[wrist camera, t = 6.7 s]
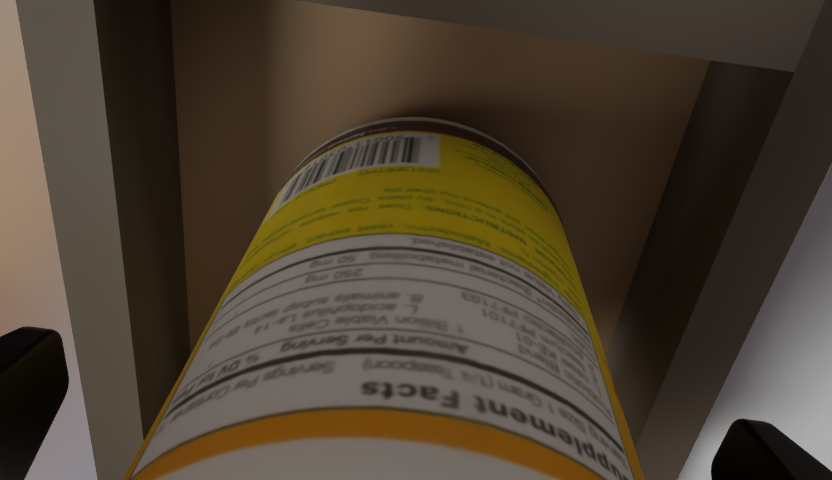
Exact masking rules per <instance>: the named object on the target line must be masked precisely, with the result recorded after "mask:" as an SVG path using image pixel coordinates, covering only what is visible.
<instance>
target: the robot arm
mask: <svg viewBox="0 0 832 480" xmlns="http://www.w3.org/2000/svg"><path fill="white" fill-rule="evenodd" d="M68 382H69V376H68V370H67V365H66V359H65V354H64V348H63V343H62V339H61V336H60V334H59V333H58V332H57V331H55V330H52V329H45V328H37V327H21V328H19V329H17V330H14V331H12V332H10V333H8V334H5V335H3V336H1V337H0V480H24V479H25V477H26V475H27V473H28V471H29V468H30V467H31V465H32V462H33V461H34V459H35V457H36V455H37V452H38V450H39V448H40V446H41V444H42V442H43V440H44V438H45V436H46V434H47V432H48V430H49V428H50V426H51V424H52V422H53V420H54V418H55V416H56V414H57V412H58V410H59V408H60V406H61V404H62V402H63V400H64V398H65V395H66V393H67V390H68V384H69V383H68ZM711 476H712V480H832V471H830V470H829V469H828V468H827V467H825V466H824V465H823V464H822V463H820V462H819V461H818V460H816V459H815V458H814V457H813V456H811V455H810V454H809V453H808V452H806V451H805V450H804V449H802V448H801V447H800V446H799V445H797V444H796V443H795V442H794V441H792V440H791V439H790V438H788V437H787V436H786V435H785V434H783V433H782V432H781V431H780V430H778V429H777V428H776V427H774V426H773V425H772V424H770V423H767V422H763V421H756V420H748V419H738V420H736V421H735V422H733V423H732V425H731V426H730V428H729V430H728V432H727V434H726V436H725V438H724V440H723V441H722V443H721V445H720V447H719V449H718V451H717V453H716V455H715V457H714V459H713V462H712V468H711Z"/></svg>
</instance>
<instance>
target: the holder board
mask: <svg viewBox="0 0 832 480" xmlns="http://www.w3.org/2000/svg"><path fill="white" fill-rule="evenodd" d="M16 4H17V10H18V15H19V22H20V28H21V33H22V39H23V45H24V51H25V57H26V62H27V68H28V74H29V80H30V86H31V92H32V98H33V104H34V109H35V115H36V121H37V127H38V133H39V139H40V145H41V150H42V156H43V162H44V168H45V173H46V179H47V185H48V191H49V197H50V203H51V209H52V215H53V221H54V226H55V232H56V238H57V244H58V250H59V256H60V261H61V267H62V273H63V279H64V284H65V291H66V297H67V302H68V308H69V314H70V320H71V326H72V332H73V337H74V343H75V349H76V355H77V361H78V366H79V373H80V379H81V384H82V390H83V396H84V402H85V407H86V414H87V419H88V425H89V431H90V436H91V443H92V448H93V454H94V460H95V466H96V472H97V478H98V480H123V478H124V477H125V475H126V473H127V471H128V469H129V467H130V466H131V464H132V462H133V460H134V458H135V456H136V454H137V453H138V451H139V449H140V447H141V445H142V443H143V442H144V440H145V438H146V436H147V434H148V432H149V431H150V429H151V427H152V425H153V423H154V421H155V419H156V418H157V416H158V414H159V412H160V410H161V408H162V407H163V405H164V403H165V401H166V399H167V397H168V396H169V394H170V392H171V390H172V388H173V387H174V385H175V383H176V381H177V380H178V378H179V376H180V374H181V372H182V370H183V369H184V367H185V365H186V363H187V361H188V359H189V357H190V355H191V353H192V352H193V350H194V348H195V346H196V344H197V342H198V340H199V338H200V336H201V334H202V333H203V331H204V329H205V327H206V325H207V324H208V322H209V320H210V318H211V316H212V314H213V312H214V311H215V309H216V307H217V305H218V303H219V301H220V299H221V297H222V295H223V294H224V292H225V290H226V288H227V286H228V284H229V283H230V281H231V279H232V277H233V275H234V273H235V272H236V270H237V268H238V266H239V264H240V262H241V261H242V259H243V257H244V255H245V253H246V251H247V250H248V248H249V246H250V244H251V242H252V241H253V239H254V237H255V235H256V233H257V231H258V229H259V228H260V226H261V224H262V222H263V220H264V218H265V217H266V215H267V213H268V211H269V209H270V208H271V206H272V204H273V202H274V200H275V198H276V196H277V195H278V193H279V192H280V190H281V189H282V187H283V185H284V184H285V182H286V181H287V179H288V178H289V176H290V175H291V174H292V173H293V171H294V170H295V169H296V168H297V167H298V165H299V164H300V163H301V162H302V161H303V160H304V159H305V158H306V157H307V156H308V155H309V154H310V153H311V152H313V151H314V150H315V149H317V148H318V147H319V146H320V145H322V144H324V143H325V142H327V141H328V140H330V139H331V138H333V137H335V136H337V135H338V134H340V133H342V132H344V131H347V130H349V129H351V128H354V127H356V126H359V125H362V124H366V123H369V122H373V121H377V120H382V119H389V118H399V117H426V118H435V119H441V120H446V121H451V122H455V123H459V124H462V125H465V126H468V127H470V128H473V129H476V130H478V131H480V132H482V133H485V134H487V135H489V136H490V137H492V138H494V139H496V140H497V141H499V142H501V143H503V144H504V145H505V146H507V147H508V148H509V149H511V150H512V151H513V152H515V153H516V154H517V155H518V156H519V157H520V158H521V159H523V160H524V161H525V162H526V163H527V164H528V165H529V166H530V168H531V169H532V170H533V171H534V172H535V173H536V175H537V176H538V177H539V179H540V180H541V181H542V183H543V184H544V186H545V188H546V189H547V191H548V192H549V194H550V196H551V198H552V200H553V202H554V204H555V206H556V207H557V209H558V212H559V215H560V217H561V220H562V222H563V226H564V231H565V234H566V237H567V240H568V243H569V246H570V249H571V252H572V255H573V258H574V261H575V264H576V267H577V271H578V274H579V277H580V280H581V283H582V286H583V289H584V292H585V295H586V299H587V302H588V305H589V308H590V311H591V314H592V317H593V320H594V323H595V326H596V329H597V332H598V335H599V338H600V341H601V345H602V348H603V351H604V354H605V357H606V360H607V363H608V367H609V370H610V373H611V376H612V379H613V383H614V386H615V388H616V391H617V394H618V397H619V400H620V403H621V406H622V408H623V411H624V416H625V419H626V422H627V425H628V428H629V432H630V435H631V438H632V441H633V444H634V448H635V451H636V454H637V457H638V460H639V463H640V467H641V470H642V473H643V476H644V479H645V480H677V478H678V476H679V474H680V472H681V470H682V468H683V466H684V464H685V462H686V460H687V458H688V456H689V454H690V452H691V450H692V448H693V446H694V443H695V441H696V439H697V437H698V435H699V433H700V431H701V429H702V427H703V425H704V423H705V421H706V419H707V417H708V415H709V413H710V411H711V409H712V407H713V404H714V402H715V400H716V398H717V396H718V394H719V392H720V390H721V388H722V386H723V384H724V382H725V380H726V378H727V376H728V374H729V372H730V370H731V368H732V365H733V363H734V361H735V359H736V357H737V355H738V353H739V351H740V349H741V347H742V345H743V343H744V341H745V339H746V337H747V335H748V333H749V331H750V329H751V326H752V324H753V322H754V320H755V318H756V316H757V314H758V312H759V310H760V308H761V306H762V304H763V302H764V300H765V298H766V296H767V294H768V292H769V290H770V287H771V285H772V283H773V281H774V279H775V277H776V275H777V273H778V271H779V269H780V267H781V265H782V263H783V261H784V259H785V257H786V255H787V253H788V251H789V248H790V246H791V244H792V242H793V240H794V238H795V236H796V234H797V232H798V230H799V228H800V226H801V224H802V222H803V220H804V218H805V216H806V214H807V212H808V209H809V207H810V205H811V203H812V201H813V199H814V197H815V195H816V193H817V191H818V189H819V187H820V185H821V183H822V181H823V179H824V177H825V175H826V173H827V170H828V168H829V166H830V164H831V162H832V0H16Z"/></svg>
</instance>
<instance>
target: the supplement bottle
mask: <svg viewBox="0 0 832 480" xmlns="http://www.w3.org/2000/svg"><path fill="white" fill-rule="evenodd" d="M123 480H645V479H644V476H643V473H642V470H641V467H640V463H639V460H638V457H637V454H636V451H635V448H634V444H633V441H632V438H631V435H630V432H629V428H628V425H627V422H626V419H625V416H624V411H623V408H622V406H621V403H620V400H619V397H618V394H617V391H616V388H615V386H614V383H613V379H612V376H611V373H610V370H609V367H608V363H607V360H606V357H605V354H604V351H603V348H602V345H601V341H600V338H599V335H598V332H597V329H596V326H595V323H594V320H593V317H592V314H591V311H590V308H589V305H588V302H587V299H586V295H585V292H584V289H583V286H582V283H581V280H580V277H579V274H578V271H577V267H576V264H575V261H574V258H573V255H572V252H571V249H570V246H569V243H568V240H567V237H566V234H565V231H564V226H563V222H562V220H561V217H560V215H559V212H558V209H557V207H556V206H555V204H554V202H553V200H552V198H551V196H550V194H549V192H548V191H547V189H546V188H545V186H544V184H543V183H542V181H541V180H540V179H539V177H538V176H537V175H536V173H535V172H534V171H533V170H532V169H531V168H530V166H529V165H528V164H527V163H526V162H525V161H524V160H523V159H521V158H520V157H519V156H518V155H517V154H516V153H515V152H513V151H512V150H511V149H509V148H508V147H507V146H505V145H504V144H503V143H501V142H499V141H497V140H496V139H494V138H492V137H490V136H489V135H487V134H485V133H482V132H480V131H478V130H476V129H473V128H470V127H468V126H465V125H462V124H459V123H455V122H451V121H446V120H441V119H435V118H426V117H399V118H389V119H382V120H377V121H373V122H369V123H366V124H362V125H359V126H356V127H354V128H351V129H349V130H347V131H344V132H342V133H340V134H338V135H337V136H335V137H333V138H331V139H330V140H328V141H327V142H325V143H324V144H322V145H320V146H319V147H318V148H317V149H315V150H314V151H313V152H311V153H310V154H309V155H308V156H307V157H306V158H305V159H304V160H303V161H302V162H301V163H300V164H299V165H298V167H297V168H296V169H295V170H294V171H293V173H292V174H291V175H290V176H289V178H288V179H287V181H286V182H285V184H284V185H283V187H282V189H281V190H280V192H279V193H278V195H277V196H276V198H275V200H274V202H273V204H272V206H271V208H270V209H269V211H268V213H267V215H266V217H265V218H264V220H263V222H262V224H261V226H260V228H259V229H258V231H257V233H256V235H255V237H254V239H253V241H252V242H251V244H250V246H249V248H248V250H247V251H246V253H245V255H244V257H243V259H242V261H241V262H240V264H239V266H238V268H237V270H236V272H235V273H234V275H233V277H232V279H231V281H230V283H229V284H228V286H227V288H226V290H225V292H224V294H223V295H222V297H221V299H220V301H219V303H218V305H217V307H216V309H215V311H214V312H213V314H212V316H211V318H210V320H209V322H208V324H207V325H206V327H205V329H204V331H203V333H202V334H201V336H200V338H199V340H198V342H197V344H196V346H195V348H194V350H193V352H192V353H191V355H190V357H189V359H188V361H187V363H186V365H185V367H184V369H183V370H182V372H181V374H180V376H179V378H178V380H177V381H176V383H175V385H174V387H173V388H172V390H171V392H170V394H169V396H168V397H167V399H166V401H165V403H164V405H163V407H162V408H161V410H160V412H159V414H158V416H157V418H156V419H155V421H154V423H153V425H152V427H151V429H150V431H149V432H148V434H147V436H146V438H145V440H144V442H143V443H142V445H141V447H140V449H139V451H138V453H137V454H136V456H135V458H134V460H133V462H132V464H131V466H130V467H129V469H128V471H127V473H126V475H125V477H124V478H123Z"/></svg>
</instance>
